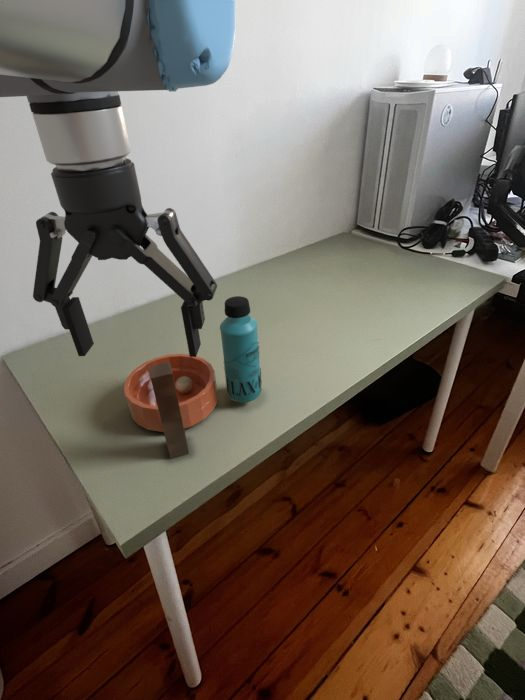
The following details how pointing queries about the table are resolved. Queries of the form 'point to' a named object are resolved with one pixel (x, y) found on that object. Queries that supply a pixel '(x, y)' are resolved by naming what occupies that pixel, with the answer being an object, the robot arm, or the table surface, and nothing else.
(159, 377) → the stick
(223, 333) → the beverage bottle
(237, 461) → the table surface
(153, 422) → the bowl
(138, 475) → the table surface
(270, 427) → the table surface
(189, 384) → the bead
